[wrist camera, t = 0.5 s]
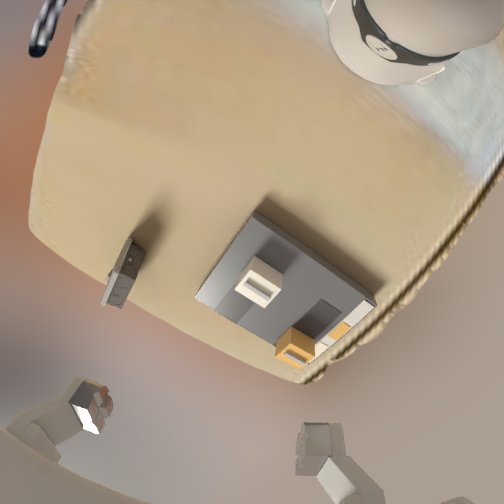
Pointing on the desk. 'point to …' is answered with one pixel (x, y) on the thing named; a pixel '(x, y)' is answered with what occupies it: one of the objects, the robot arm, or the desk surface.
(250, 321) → the switch unit
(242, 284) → the ivory slider
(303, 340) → the amber slider
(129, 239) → the grey hollow box
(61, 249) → the desk surface
